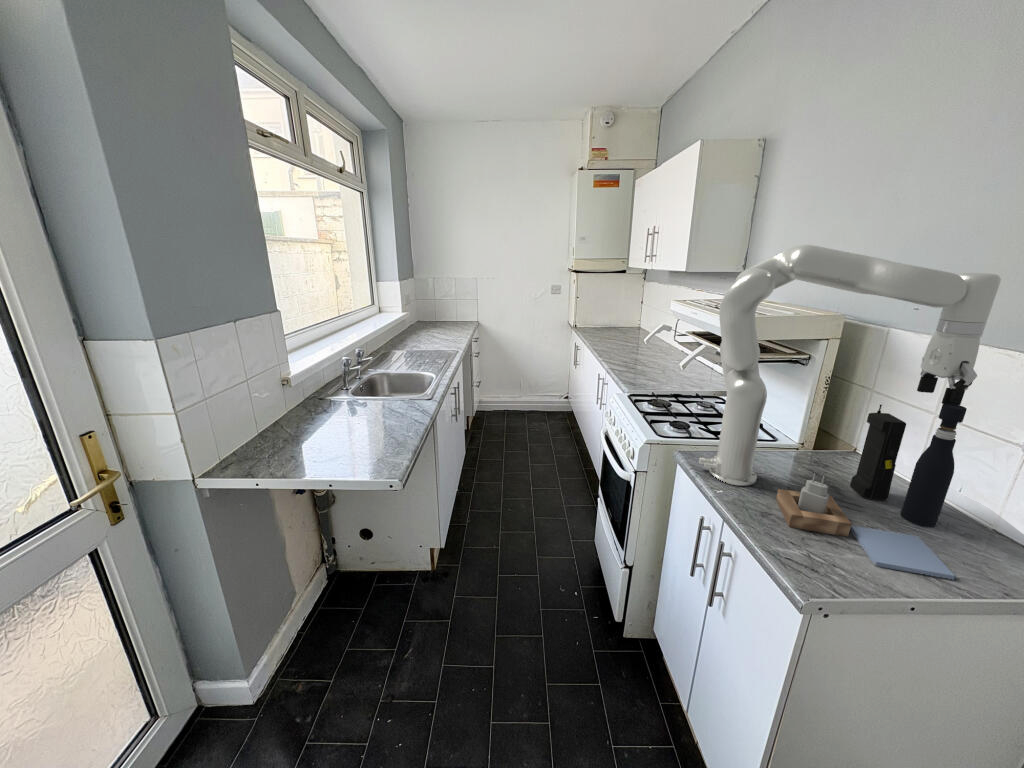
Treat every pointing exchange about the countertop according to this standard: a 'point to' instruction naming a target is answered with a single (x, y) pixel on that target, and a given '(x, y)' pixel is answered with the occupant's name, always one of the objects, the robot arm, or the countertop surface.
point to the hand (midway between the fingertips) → (937, 398)
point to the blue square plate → (900, 552)
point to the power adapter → (814, 497)
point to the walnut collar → (812, 515)
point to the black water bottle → (933, 471)
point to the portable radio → (878, 456)
